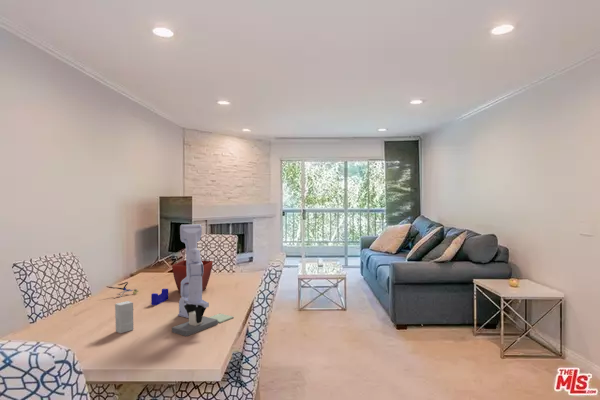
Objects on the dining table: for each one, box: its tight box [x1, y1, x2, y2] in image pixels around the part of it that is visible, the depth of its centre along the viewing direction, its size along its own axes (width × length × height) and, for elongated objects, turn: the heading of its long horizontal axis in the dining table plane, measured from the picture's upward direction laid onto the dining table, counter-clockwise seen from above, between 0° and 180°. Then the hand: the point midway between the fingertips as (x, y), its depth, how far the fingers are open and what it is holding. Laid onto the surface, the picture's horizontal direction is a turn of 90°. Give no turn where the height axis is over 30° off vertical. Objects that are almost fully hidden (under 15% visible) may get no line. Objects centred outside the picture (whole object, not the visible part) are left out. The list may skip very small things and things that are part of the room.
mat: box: [208, 313, 235, 324], centre depth 183 cm, size 9×9×1 cm
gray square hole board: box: [171, 315, 219, 337], centre depth 170 cm, size 9×18×2 cm, turn 147°
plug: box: [188, 311, 202, 326], centre depth 170 cm, size 4×4×7 cm
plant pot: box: [171, 259, 214, 293], centre depth 236 cm, size 19×19×17 cm
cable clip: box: [150, 288, 169, 306], centre depth 211 cm, size 12×4×6 cm, turn 170°
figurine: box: [105, 281, 139, 298], centre depth 224 cm, size 10×9×20 cm
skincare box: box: [114, 300, 135, 334], centre depth 167 cm, size 6×4×12 cm
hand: (195, 321), depth 170 cm, fingers closed on plug, 4 cm apart
